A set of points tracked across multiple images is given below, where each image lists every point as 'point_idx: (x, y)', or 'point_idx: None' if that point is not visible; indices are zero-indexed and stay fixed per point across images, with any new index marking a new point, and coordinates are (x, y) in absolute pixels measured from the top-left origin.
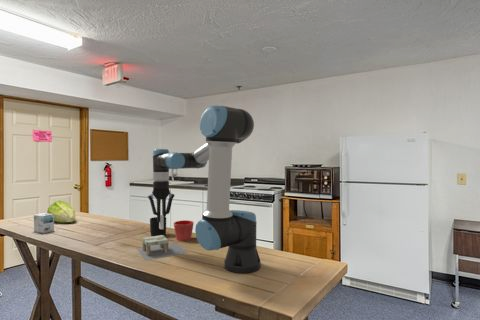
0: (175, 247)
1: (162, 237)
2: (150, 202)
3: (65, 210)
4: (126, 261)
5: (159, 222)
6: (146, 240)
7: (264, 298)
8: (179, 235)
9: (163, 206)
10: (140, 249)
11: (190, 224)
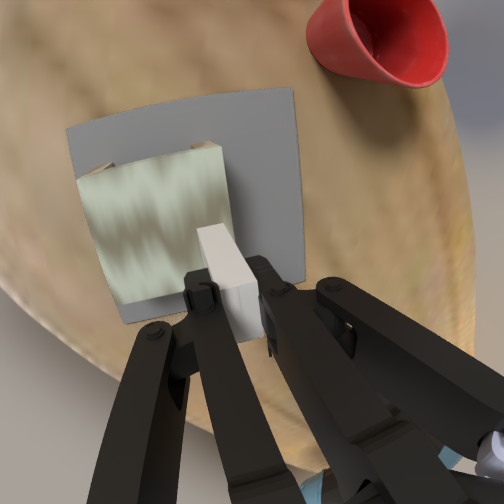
0: (272, 178)
1: (211, 215)
2: (96, 496)
3: None
4: (53, 304)
5: (206, 262)
6: (107, 259)
7: (325, 460)
8: (331, 60)
9: (308, 420)
10: (84, 155)
11: (428, 85)
